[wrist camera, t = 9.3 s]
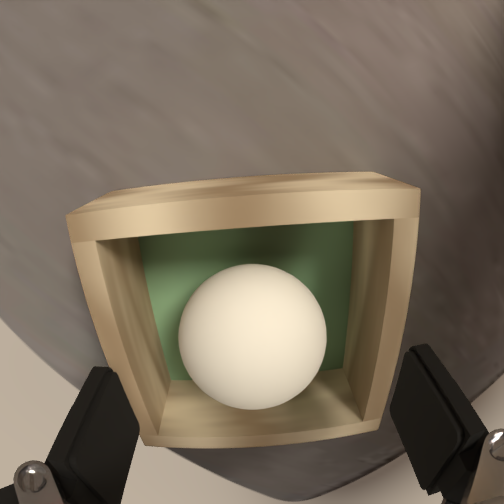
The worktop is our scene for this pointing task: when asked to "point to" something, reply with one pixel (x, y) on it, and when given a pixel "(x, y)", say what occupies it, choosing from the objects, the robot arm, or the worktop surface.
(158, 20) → the worktop surface
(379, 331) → the wooden square tray
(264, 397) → the ball
